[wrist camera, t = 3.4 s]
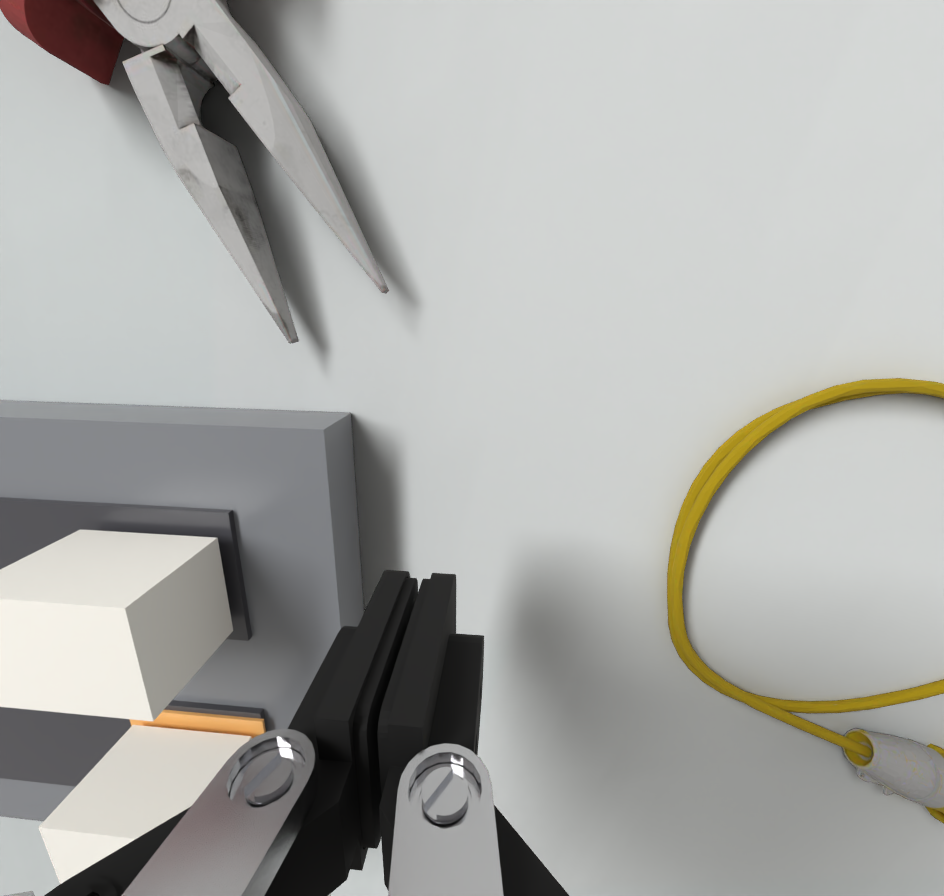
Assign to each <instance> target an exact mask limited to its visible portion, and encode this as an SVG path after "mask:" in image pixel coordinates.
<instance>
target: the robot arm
mask: <svg viewBox="0 0 944 896" xmlns="http://www.w3.org/2000/svg"><path fill="white" fill-rule="evenodd" d="M483 656H484V636H480V635H466V634H456V575H455V574H440V573H432V575H431V579H423V580H422V583H421V586H420V589H419V592H418V582H417V579H416V578H410V574H409V572H407V571H391V570H385V571H384V573H383V575H382V577H381V579H380V581H379V583H378V585H377V587H376V589H375V591H374V593H373V596H372V598H371V600H370V602H369V604H368V606H367V608H366V610H365V612H364V614H363V616H362V619H361V621H360V623H359V625H358V627H354V626H344V627H342V628H341V629H340V631H339V632H338V634H337V636H336V638H335V640H334V642H333V643H332V645H331V647H330V649H329V651H328V653H327V655H326V657H325V659H324V660H323V662H322V664H321V666H320V668H319V670H318V672H317V674H316V676H315V677H314V679H313V681H312V683H311V685H310V687H309V689H308V691H307V693H306V694H305V696H304V698H303V700H302V702H301V704H300V706H299V708H298V710H297V712H296V713H295V715H294V717H293V719H292V721H291V723H290V725H289V727H288V729H278V730H273V731H268V732H265V733H263V734H261V735H258V736H256V737H254V738H252V739H251V740H249V741H248V742H247V743H245V744H244V745H242V746H241V747H240V748H239V749H238V750H237V751H236V752H235V753H234V754H233V755H232V756H231V757H230V758H229V759H228V760H227V761H226V763H225V764H224V765H223V767H222V768H221V769H220V770H219V772H218V773H217V774H216V776H215V777H214V778H213V779H212V781H211V782H210V783H209V784H208V786H207V787H206V788H205V790H204V791H203V792H202V793H201V795H200V796H199V797H198V798H197V800H196V801H195V802H194V804H193V805H192V806H191V807H189V808H187V809H186V810H184V811H182V812H181V813H179V814H177V815H176V816H174V817H172V818H170V819H169V820H167V821H165V822H164V823H162V824H160V825H159V826H157V827H155V828H154V829H152V830H150V831H149V832H147V833H145V834H144V835H142V836H140V837H138V838H137V839H135V840H133V841H132V842H130V843H128V844H127V845H125V846H123V847H122V848H120V849H118V850H117V851H115V852H113V853H112V854H110V855H108V856H106V857H105V858H103V859H101V860H100V861H98V862H96V863H95V864H93V865H91V866H90V867H88V868H86V869H85V870H83V871H81V872H80V873H78V874H76V875H74V876H73V877H71V878H69V879H68V880H66V881H64V882H63V883H62V884H60V885H59V886H57V887H56V888H55V889H53V890H52V891H50V892H49V893H47V894H46V895H45V896H331V892H333V891H334V890H335V889H336V888H337V887H339V886H340V885H341V884H342V883H343V882H344V881H346V880H347V877H348V874H349V870H350V869H354V870H362V869H363V865H364V861H365V858H366V854H367V850H368V848H376V849H377V847H378V845H379V842H380V839H381V838H382V853H383V867H384V881H385V885H386V887H387V889H388V891H389V892H388V896H569V895H568V894H567V892H566V891H565V890H564V889H563V888H562V886H561V885H560V884H559V883H558V882H557V880H556V879H555V878H554V877H553V876H552V874H551V873H550V872H549V871H548V869H547V868H546V867H545V866H544V865H543V863H542V862H541V861H540V860H539V859H538V857H537V856H536V855H535V854H534V853H533V851H532V850H531V849H530V848H529V846H528V845H527V844H526V843H525V842H524V840H523V839H522V838H521V837H520V836H519V834H518V833H517V832H516V831H515V830H514V828H513V827H512V826H511V825H510V823H509V822H508V821H507V820H506V819H505V817H504V816H503V815H502V814H501V813H500V811H499V810H498V809H497V808H496V807H495V805H494V801H493V792H492V784H491V780H490V776H489V772H488V770H487V768H486V766H485V765H484V763H483V762H482V760H481V758H479V757H478V756H477V753H478V739H479V726H480V713H481V699H482V682H483ZM5 896H35V895H34V893H33V891H29V892H23V893H17V894H11V895H5Z"/></svg>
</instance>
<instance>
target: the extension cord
mask: <svg viewBox="0 0 944 896" xmlns="http://www.w3.org/2000/svg"><path fill="white" fill-rule="evenodd" d="M898 393H914V394H925V395H932V396H936V397H940V398H944V384H942V383H938V382H931V381H922V380H912V379H902V378H895V379H872V380H861V381H856V382H851V383H846V384H841V385H836V386H833V387H830V388H827V389H825V390H822V391H819V392H817V393H814V394H811V395H809V396H806V397H804V398H802V399H799V400H797V401H794V402H791V403H789V404H786V405H783V406H781V407H778V408H776V409H774V410H772V411H770V412H768V413H766V414H764V415H762V416H761V417H759V418H757V419H755V420H753V421H752V422H751V423H749V424H748V425H746V426H745V427H743V428H742V429H740V430H739V431H737V432H736V433H735V434H734V435H733V436H732V437H730V438H729V439H728V440H727V441H726V442H725V443H724V444H723V445H722V446H720V447H719V448H718V450H717V451H716V452H715V453H714V454H713V455H712V457H711V458H710V459H709V460H708V461H707V463H706V464H705V465H704V466H703V468H702V469H701V471H700V473H699V474H698V476H697V477H696V479H695V480H694V482H693V483H692V485H691V487H690V490H689V492H688V494H687V496H686V498H685V500H684V502H683V504H682V507H681V510H680V513H679V516H678V519H677V522H676V525H675V529H674V534H673V538H672V543H671V548H670V555H669V564H668V573H667V603H668V625H669V630H670V634H671V639H672V642H673V644H674V646H675V648H676V650H677V653H678V655H679V656H680V658H681V659H682V660H683V662H684V663H685V664H686V665H687V667H688V668H689V669H690V670H691V671H692V672H693V673H694V674H695V675H696V676H697V677H698V678H700V679H701V680H702V681H703V682H704V683H706V684H707V685H709V686H710V687H712V688H714V689H715V690H717V691H718V692H720V693H722V694H724V695H727V696H729V697H731V698H733V699H736V700H738V701H741V702H743V703H745V704H747V705H749V706H750V707H752V708H754V709H756V710H758V711H761V712H763V713H765V714H767V715H769V716H772V717H774V718H776V719H778V720H781V721H783V722H785V723H787V724H789V725H792V726H794V727H796V728H798V729H801V730H803V731H805V732H808V733H810V734H812V735H815V736H817V737H820V738H822V739H824V740H827V741H829V742H831V743H834V744H836V745H838V746H841V747H842V749H843V751H844V754H845V757H846V758H847V760H848V761H849V762H850V763H851V764H852V765H853V766H855V767H856V768H857V776H858V777H859V778H860V779H862V780H864V781H866V782H871V783H876V784H881V785H883V786H884V789H883V793H884V794H885V795H889V794H892V793H896V794H898V795H900V796H902V797H904V798H906V799H909V800H911V801H914V802H916V803H919V804H921V805H924V806H925V807H926V808H927V810H928V811H929V812H930V814H931V815H932V816H933V817H934V818H936V819H937V820H939V821H941V822H942V823H944V749H942V748H940V747H937V746H935V745H933V744H929V745H928V746H925V745H922V744H920V743H917V742H915V741H913V740H910V739H904V738H900V737H896V736H892V735H887V734H881V733H874V732H867V731H864V730H861V729H852V730H850V731H848V732H846V734H845V735H844V736H842V735H840V734H837V733H835V732H833V731H830V730H828V729H826V728H823V727H821V726H819V725H816V724H814V723H811V722H809V721H807V720H804V719H802V718H800V717H797V716H795V715H793V714H791V713H789V712H799V713H841V712H851V711H860V710H869V709H875V708H880V707H885V706H890V705H895V704H900V703H905V702H910V701H915V700H920V699H924V698H928V697H932V696H935V695H939V694H943V693H944V679H943V680H940V681H936V682H933V683H929V684H926V685H922V686H919V687H915V688H910V689H906V690H901V691H895V692H890V693H885V694H880V695H875V696H870V697H864V698H855V699H847V700H838V701H793V700H781V699H775V698H770V697H764V696H759V695H756V694H752V693H749V692H745V691H743V690H741V689H739V688H738V687H736V686H734V685H732V684H730V683H729V682H727V681H725V680H724V679H723V678H721V677H720V676H719V675H717V674H716V673H715V672H713V671H712V670H711V669H709V668H708V667H707V666H706V664H705V663H704V662H703V661H702V660H701V659H700V658H699V656H698V655H697V654H696V652H695V651H694V649H693V648H692V646H691V644H690V641H689V639H688V637H687V633H686V628H685V623H684V613H683V602H682V591H683V579H684V570H685V566H686V561H687V557H688V553H689V548H690V545H691V542H692V539H693V537H694V534H695V532H696V529H697V526H698V524H699V521H700V519H701V517H702V515H703V514H704V512H705V510H706V508H707V506H708V504H709V502H710V500H711V499H712V497H713V495H714V494H715V492H716V491H717V490H718V488H719V487H720V485H721V484H722V483H723V481H724V480H725V478H726V477H727V476H728V474H729V473H730V472H731V471H732V470H733V468H734V467H735V466H736V465H737V464H738V463H739V462H740V461H741V460H742V459H743V457H744V456H745V455H746V454H747V453H748V452H749V451H750V450H751V449H753V448H754V447H755V446H756V445H757V444H758V443H759V442H761V441H762V440H763V439H764V438H765V437H766V436H767V435H769V434H770V433H771V432H773V431H774V430H776V429H777V428H779V427H780V426H782V425H783V424H785V423H786V422H787V421H789V420H790V419H792V418H794V417H796V416H798V415H800V414H801V413H803V412H805V411H807V410H811V409H815V408H818V407H822V406H826V405H830V404H833V403H837V402H841V401H845V400H851V399H856V398H862V397H868V396H874V395H883V394H898ZM861 773H863V775H862V776H860V775H861Z"/></svg>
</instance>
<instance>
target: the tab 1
mask: <svg viewBox="0 0 944 896" xmlns="http://www.w3.org/2000/svg"><path fill="white" fill-rule="evenodd" d="M232 632H233V626H232V620H231V614H230V608H229V602H228V596H227V590H226V584H225V579H224V573H223V567H222V561H221V555H220V549H219V543H218V538H215V537H198V536H181V535H165V534H148V533H131V532H115V531H98V530H81V529H80V530H78V531H76V532H74V533H72V534H70V535H68V536H66V537H64V538H62V539H60V540H58V541H56V542H54V543H52V544H50V545H48V546H46V547H44V548H42V549H40V550H38V551H36V552H34V553H32V554H30V555H28V556H26V557H24V558H22V559H20V560H18V561H16V562H14V563H12V564H10V565H8V566H6V567H4V568H2V569H0V707H8V708H18V709H29V710H39V711H50V712H60V713H70V714H81V715H91V716H102V717H112V718H122V719H133V720H143V721H154V720H155V719H156V718H157V717H158V716H159V714H160V713H161V712H162V711H163V710H164V709H165V708H166V707H167V705H168V704H169V703H170V702H171V701H172V700H173V699H174V697H175V696H176V695H177V694H178V693H179V692H180V691H181V689H182V688H183V687H184V686H185V685H186V684H187V683H188V682H189V680H190V679H191V678H192V677H193V676H194V675H195V674H196V672H197V671H198V670H199V669H200V668H201V667H202V666H203V664H204V663H205V662H206V661H207V660H208V659H209V658H210V657H211V655H212V654H213V653H214V652H215V651H216V650H217V649H218V647H219V646H220V645H221V644H222V643H223V642H224V641H225V639H226V638H227V637H228V636H229V635H230V634H231V633H232Z"/></svg>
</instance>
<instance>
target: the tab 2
mask: <svg viewBox="0 0 944 896" xmlns="http://www.w3.org/2000/svg"><path fill="white" fill-rule="evenodd" d="M251 739H252V737H251V736H243V735H233V734H223V733H213V732H202V731H192V730H182V729H171V728H161V727H151V726H141V725H132V726H131V727H130V729H129V730H128V731H127V732H126V733H125V734H124V735H123V736H122V737H121V738H120V739H119V740H118V742H117V743H116V744H115V745H114V746H113V747H112V748H111V749H110V750H109V751H108V752H107V753H106V755H105V756H104V757H103V758H102V759H101V760H100V761H99V762H98V763H97V764H96V765H95V767H94V768H93V769H92V770H91V771H90V772H89V773H88V774H87V775H86V776H85V777H84V778H83V780H82V781H81V782H80V783H79V784H78V785H77V786H76V787H75V788H74V789H73V790H72V791H71V793H70V794H69V795H68V796H67V797H66V798H65V799H64V800H63V801H62V802H61V803H60V804H59V806H58V807H57V808H56V809H55V810H54V811H53V812H52V813H51V814H50V815H49V816H48V817H47V819H46V820H45V821H44V822H43V823H42V824H41V825H40V826H39V830H40V833H41V835H42V838H43V841H44V843H45V846H46V848H47V851H48V854H49V856H50V859H51V861H52V864H53V867H54V869H55V872H56V874H57V877H58V880H59V882H60V884H62V883H63V882H64V881H66V880H68V879H69V878H71V877H73V876H74V875H76V874H78V873H80V872H81V871H83V870H85V869H86V868H88V867H90V866H91V865H93V864H95V863H96V862H98V861H100V860H101V859H103V858H105V857H106V856H108V855H110V854H112V853H113V852H115V851H117V850H118V849H120V848H122V847H123V846H125V845H127V844H128V843H130V842H132V841H133V840H135V839H137V838H138V837H140V836H142V835H144V834H145V833H147V832H149V831H150V830H152V829H154V828H155V827H157V826H159V825H160V824H162V823H164V822H165V821H167V820H169V819H170V818H172V817H174V816H176V815H177V814H179V813H181V812H182V811H184V810H186V809H187V808H189V807H191V806H192V805H193V804H194V802H195V801H196V800H197V798H198V797H199V796H200V795H201V793H202V792H203V791H204V790H205V788H206V787H207V786H208V784H209V783H210V782H211V781H212V779H213V778H214V777H215V776H216V774H217V773H218V772H219V770H220V769H221V768H222V767H223V765H224V764H225V763H226V761H227V760H228V759H229V758H230V757H231V756H232V755H233V754H234V753H235V752H236V751H237V750H238V749H239V748H240V747H241V746H242V745H244V744H245V743H247V742H248V741H249V740H251Z"/></svg>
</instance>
